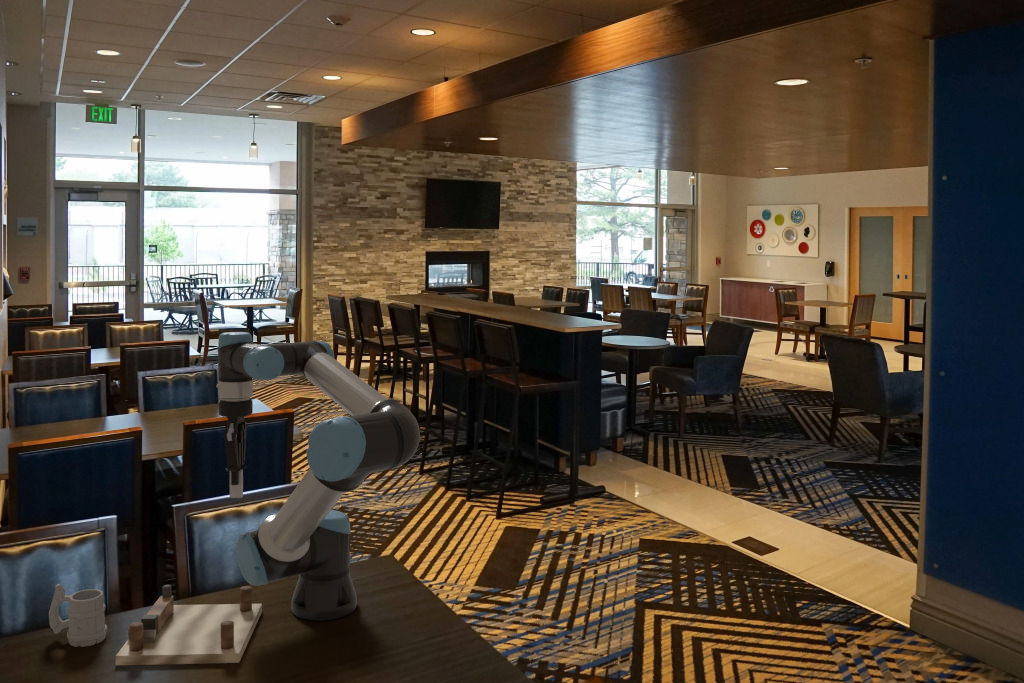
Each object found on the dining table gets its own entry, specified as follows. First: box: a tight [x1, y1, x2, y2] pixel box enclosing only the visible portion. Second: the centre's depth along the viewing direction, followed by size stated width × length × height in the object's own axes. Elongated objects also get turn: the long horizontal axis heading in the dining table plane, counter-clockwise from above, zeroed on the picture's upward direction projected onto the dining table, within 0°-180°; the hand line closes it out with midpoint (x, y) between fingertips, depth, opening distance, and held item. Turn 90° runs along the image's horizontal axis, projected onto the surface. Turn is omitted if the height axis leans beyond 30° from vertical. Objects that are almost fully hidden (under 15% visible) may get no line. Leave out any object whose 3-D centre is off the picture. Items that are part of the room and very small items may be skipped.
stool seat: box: [115, 585, 263, 666], centre depth 177 cm, size 24×24×7 cm
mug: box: [48, 583, 108, 648], centre depth 174 cm, size 8×12×12 cm, turn 91°
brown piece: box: [140, 584, 175, 635], centre depth 178 cm, size 14×3×6 cm, turn 6°
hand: (236, 496), depth 193 cm, fingers closed
